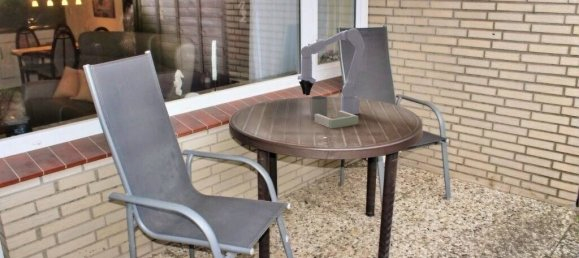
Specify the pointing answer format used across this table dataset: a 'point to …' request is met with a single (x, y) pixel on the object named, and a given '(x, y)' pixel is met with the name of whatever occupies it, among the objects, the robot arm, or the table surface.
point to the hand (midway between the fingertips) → (306, 94)
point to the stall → (337, 120)
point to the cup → (318, 106)
